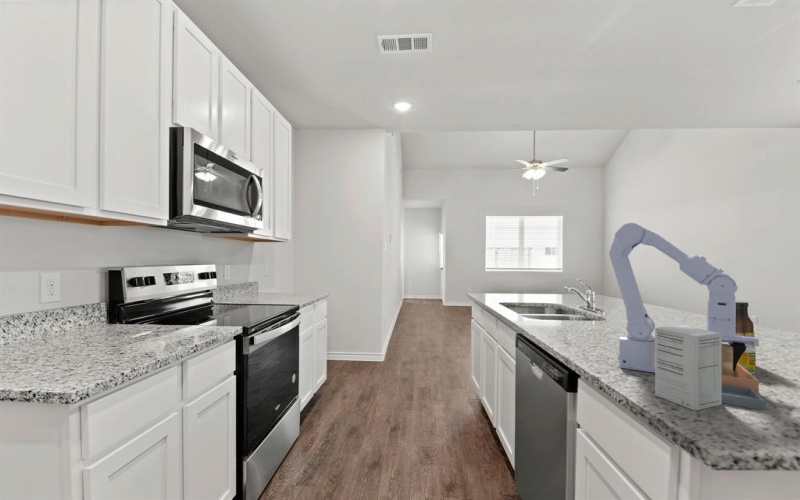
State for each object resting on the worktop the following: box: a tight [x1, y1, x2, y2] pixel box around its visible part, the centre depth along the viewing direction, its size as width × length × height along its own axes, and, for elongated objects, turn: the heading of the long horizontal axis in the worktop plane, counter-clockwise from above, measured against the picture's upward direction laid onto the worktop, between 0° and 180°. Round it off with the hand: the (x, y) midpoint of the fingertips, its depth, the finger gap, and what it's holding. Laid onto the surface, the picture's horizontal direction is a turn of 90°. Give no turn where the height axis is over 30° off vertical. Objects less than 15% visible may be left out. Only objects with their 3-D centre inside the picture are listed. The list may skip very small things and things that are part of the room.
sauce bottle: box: [727, 300, 756, 350], centre depth 113 cm, size 6×6×20 cm
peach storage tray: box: [722, 363, 760, 396], centre depth 97 cm, size 11×17×4 cm, turn 150°
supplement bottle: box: [738, 344, 757, 375], centre depth 106 cm, size 5×5×10 cm
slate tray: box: [722, 384, 766, 411], centre depth 85 cm, size 9×9×2 cm
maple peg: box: [721, 342, 733, 376], centre depth 97 cm, size 4×4×9 cm
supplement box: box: [654, 324, 723, 412], centre depth 85 cm, size 10×9×17 cm
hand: (720, 368), depth 97 cm, fingers closed on maple peg, 4 cm apart
